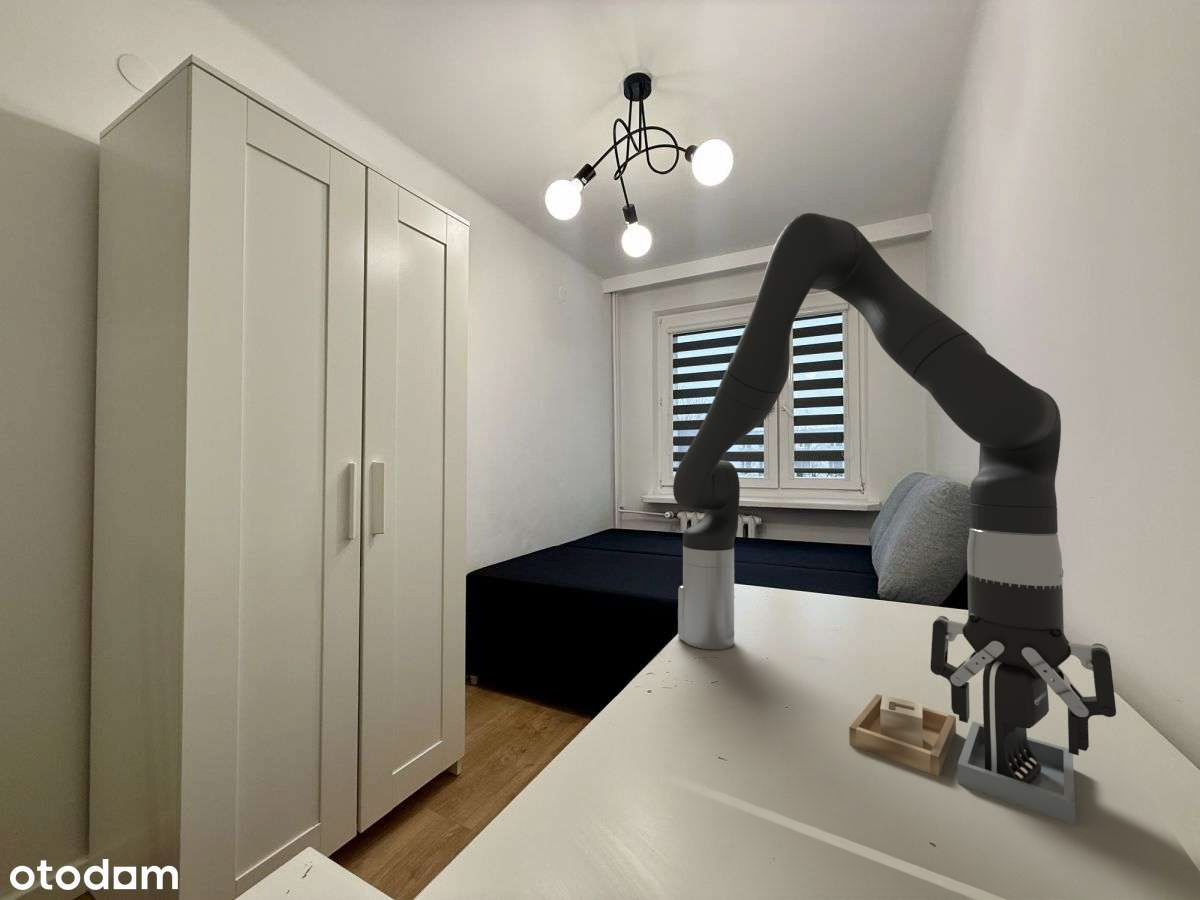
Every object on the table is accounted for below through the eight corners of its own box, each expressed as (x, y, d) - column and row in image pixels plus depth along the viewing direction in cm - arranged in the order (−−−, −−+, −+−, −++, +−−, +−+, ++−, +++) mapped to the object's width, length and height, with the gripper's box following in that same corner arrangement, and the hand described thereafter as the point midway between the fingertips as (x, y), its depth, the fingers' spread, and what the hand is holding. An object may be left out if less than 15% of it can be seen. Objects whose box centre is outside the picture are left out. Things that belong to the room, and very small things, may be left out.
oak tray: (849, 749, 56) (849, 726, 56) (876, 713, 64) (876, 694, 64) (938, 782, 50) (938, 757, 50) (956, 738, 58) (955, 716, 59)
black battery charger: (1031, 799, 47) (1028, 676, 47) (982, 778, 50) (980, 663, 50) (1054, 774, 51) (1051, 661, 51) (1007, 756, 54) (1005, 649, 54)
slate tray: (958, 789, 49) (957, 763, 49) (973, 743, 57) (972, 721, 57) (1075, 832, 43) (1074, 803, 43) (1073, 774, 52) (1072, 749, 52)
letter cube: (880, 744, 56) (880, 707, 56) (883, 729, 59) (882, 694, 59) (922, 755, 54) (922, 717, 54) (922, 739, 57) (922, 703, 57)
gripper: (924, 569, 53) (926, 723, 53) (1114, 593, 43) (1120, 782, 43) (936, 560, 59) (939, 699, 58) (1108, 579, 49) (1113, 747, 48)
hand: (1016, 734), depth 50 cm, fingers open, 8 cm apart
